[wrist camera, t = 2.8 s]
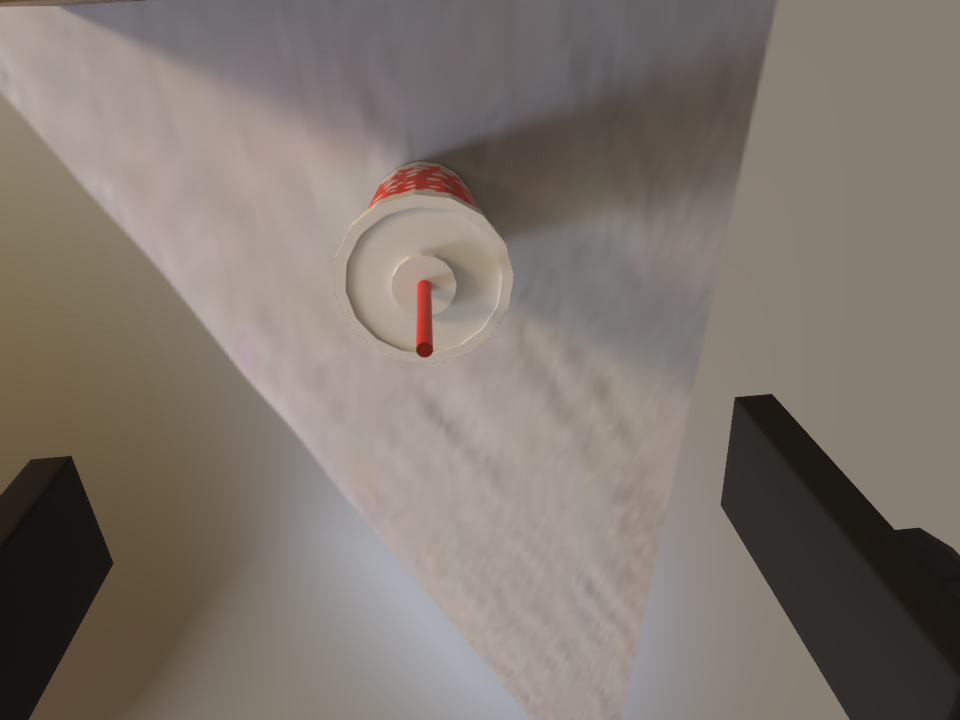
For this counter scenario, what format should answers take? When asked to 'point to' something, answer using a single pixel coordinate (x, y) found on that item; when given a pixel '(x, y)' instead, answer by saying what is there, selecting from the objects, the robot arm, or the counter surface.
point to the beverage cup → (423, 268)
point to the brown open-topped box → (54, 2)
